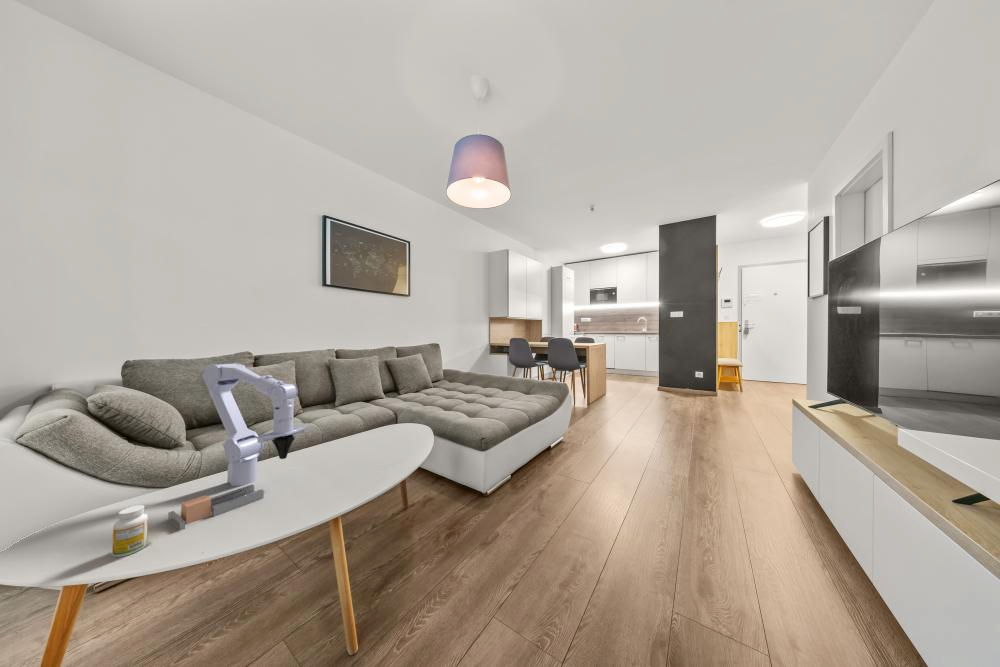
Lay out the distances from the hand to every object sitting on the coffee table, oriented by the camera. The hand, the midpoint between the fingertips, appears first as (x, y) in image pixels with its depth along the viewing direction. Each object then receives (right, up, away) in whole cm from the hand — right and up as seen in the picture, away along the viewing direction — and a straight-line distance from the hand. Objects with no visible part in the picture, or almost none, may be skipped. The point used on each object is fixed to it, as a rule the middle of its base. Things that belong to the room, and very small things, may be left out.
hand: (282, 458), depth 107 cm
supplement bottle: (-14, -9, -33) cm, 37 cm away
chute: (-6, -9, -15) cm, 19 cm away
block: (-10, -8, -21) cm, 24 cm away
